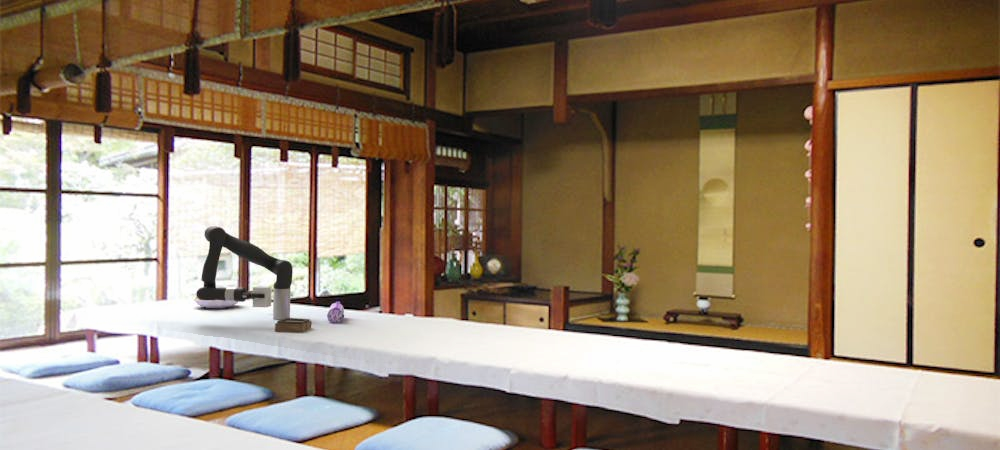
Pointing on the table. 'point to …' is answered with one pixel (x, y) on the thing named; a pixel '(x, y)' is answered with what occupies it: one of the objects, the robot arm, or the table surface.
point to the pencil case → (335, 313)
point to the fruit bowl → (214, 303)
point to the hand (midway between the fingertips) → (266, 295)
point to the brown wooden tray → (292, 325)
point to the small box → (262, 301)
